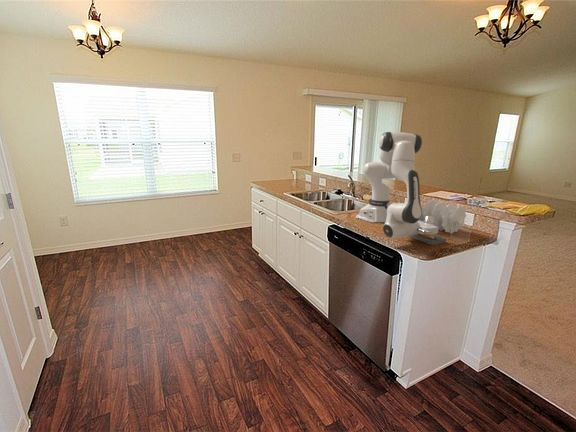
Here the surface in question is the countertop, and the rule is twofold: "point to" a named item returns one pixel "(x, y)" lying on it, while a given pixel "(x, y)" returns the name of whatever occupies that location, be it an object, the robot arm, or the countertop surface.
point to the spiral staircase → (444, 215)
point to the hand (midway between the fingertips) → (429, 224)
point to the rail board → (428, 239)
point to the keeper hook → (437, 237)
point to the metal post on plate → (430, 221)
